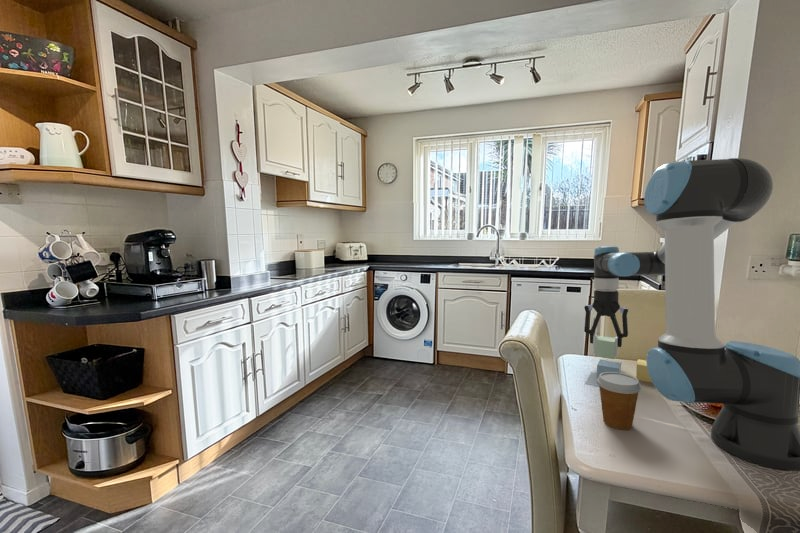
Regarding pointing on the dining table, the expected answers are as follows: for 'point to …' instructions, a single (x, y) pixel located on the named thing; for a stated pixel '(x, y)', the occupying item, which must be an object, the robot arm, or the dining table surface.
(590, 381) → the slate board
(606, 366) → the blue base brick
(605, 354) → the sage brick
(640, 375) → the ochre brick
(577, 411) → the dining table surface
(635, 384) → the disposable coffee cup
